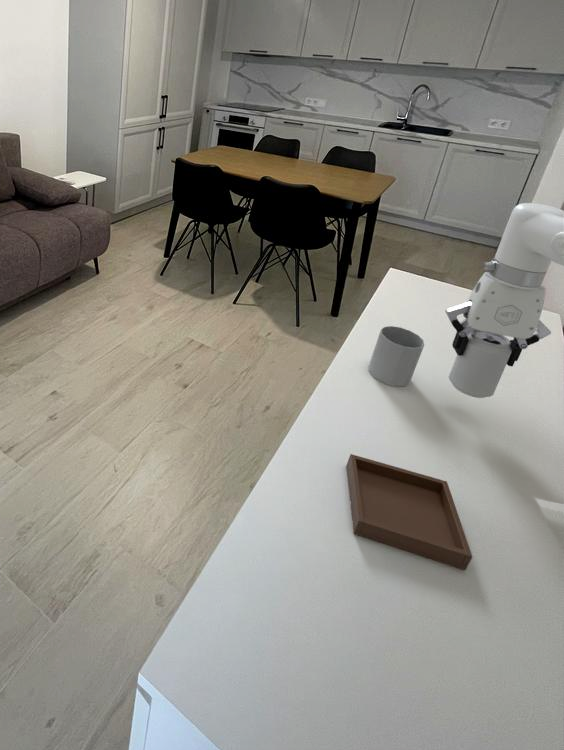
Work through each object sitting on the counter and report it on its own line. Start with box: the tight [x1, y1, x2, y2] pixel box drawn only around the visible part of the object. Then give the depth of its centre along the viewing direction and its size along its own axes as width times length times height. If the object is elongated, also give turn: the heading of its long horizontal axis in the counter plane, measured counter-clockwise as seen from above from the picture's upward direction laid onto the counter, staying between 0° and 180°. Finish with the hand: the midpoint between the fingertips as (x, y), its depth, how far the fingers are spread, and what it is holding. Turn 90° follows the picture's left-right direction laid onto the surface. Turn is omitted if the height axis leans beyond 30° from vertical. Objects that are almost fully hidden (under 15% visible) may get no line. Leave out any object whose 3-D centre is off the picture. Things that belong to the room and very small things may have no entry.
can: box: [448, 329, 512, 399], centre depth 95 cm, size 8×8×12 cm
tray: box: [345, 453, 473, 571], centre depth 77 cm, size 15×14×3 cm
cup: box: [367, 325, 425, 388], centre depth 108 cm, size 8×8×10 cm
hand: (482, 356), depth 94 cm, fingers closed on can, 7 cm apart
